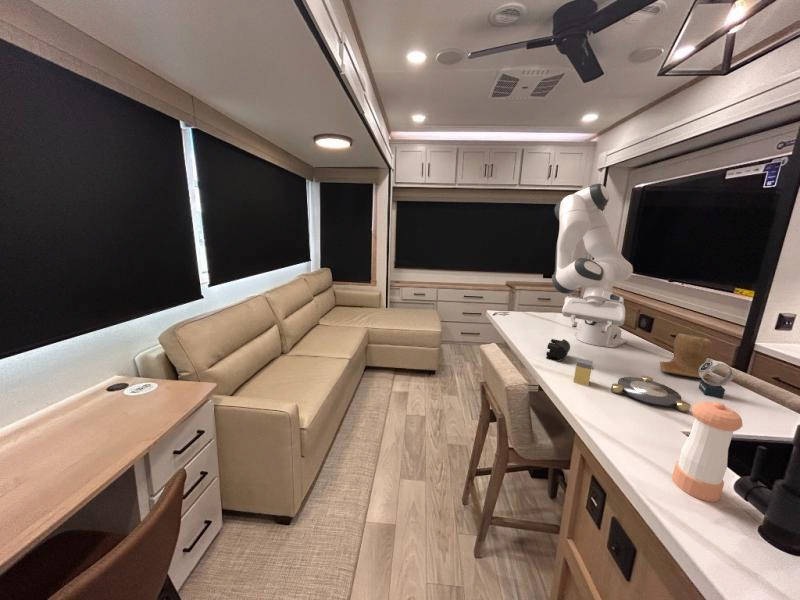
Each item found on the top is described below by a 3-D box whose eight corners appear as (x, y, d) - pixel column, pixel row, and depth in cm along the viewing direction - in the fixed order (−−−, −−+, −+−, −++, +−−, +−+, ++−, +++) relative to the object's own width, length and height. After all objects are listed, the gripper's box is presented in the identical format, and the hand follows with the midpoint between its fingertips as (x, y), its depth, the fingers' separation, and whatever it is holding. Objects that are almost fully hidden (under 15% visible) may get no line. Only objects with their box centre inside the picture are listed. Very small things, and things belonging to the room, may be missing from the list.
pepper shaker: (681, 494, 62) (706, 408, 57) (665, 469, 69) (687, 390, 64) (728, 507, 59) (758, 418, 55) (707, 479, 66) (732, 398, 62)
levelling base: (637, 378, 111) (639, 372, 110) (705, 406, 94) (707, 399, 94) (602, 388, 103) (604, 382, 103) (669, 420, 86) (671, 413, 86)
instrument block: (574, 377, 110) (578, 357, 109) (589, 381, 108) (592, 361, 106) (573, 382, 107) (576, 361, 105) (588, 386, 104) (592, 365, 103)
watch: (691, 386, 107) (699, 356, 104) (722, 392, 103) (732, 361, 101) (696, 393, 102) (705, 362, 99) (730, 400, 98) (740, 368, 96)
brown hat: (698, 370, 119) (709, 333, 116) (715, 384, 109) (727, 344, 105) (650, 363, 125) (659, 327, 121) (662, 375, 114) (671, 337, 111)
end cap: (564, 363, 121) (567, 347, 120) (545, 359, 125) (547, 343, 124) (568, 356, 129) (571, 340, 128) (550, 351, 133) (552, 336, 132)
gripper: (565, 290, 124) (557, 319, 118) (628, 298, 112) (622, 330, 106) (566, 299, 128) (557, 327, 123) (626, 308, 116) (620, 339, 111)
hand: (588, 329), depth 114 cm, fingers open, 8 cm apart
